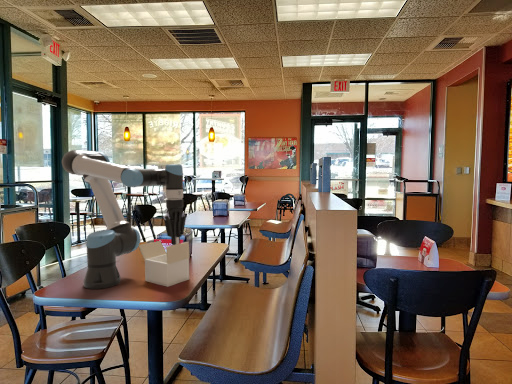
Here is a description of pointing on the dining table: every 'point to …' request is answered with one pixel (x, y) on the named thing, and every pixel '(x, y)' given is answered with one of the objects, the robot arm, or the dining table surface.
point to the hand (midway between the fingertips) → (175, 251)
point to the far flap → (152, 249)
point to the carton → (166, 271)
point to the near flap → (177, 252)
